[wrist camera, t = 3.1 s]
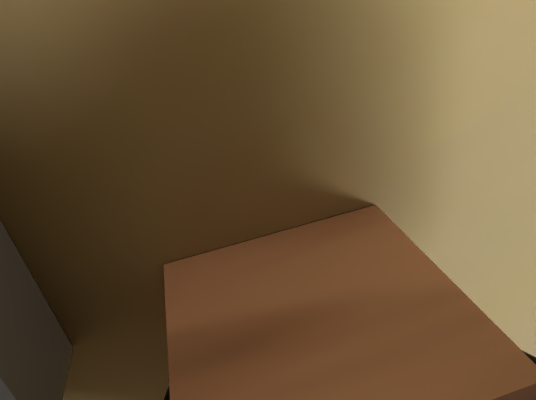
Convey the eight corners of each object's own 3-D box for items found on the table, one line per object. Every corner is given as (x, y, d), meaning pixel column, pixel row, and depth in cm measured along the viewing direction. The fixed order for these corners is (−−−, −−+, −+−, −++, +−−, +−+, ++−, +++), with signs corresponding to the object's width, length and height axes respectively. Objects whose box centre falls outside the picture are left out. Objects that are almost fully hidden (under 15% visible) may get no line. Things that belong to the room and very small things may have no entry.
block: (382, 350, 12) (506, 549, 8) (215, 406, 12) (253, 654, 7) (375, 204, 10) (549, 378, 6) (163, 264, 9) (174, 514, 5)
